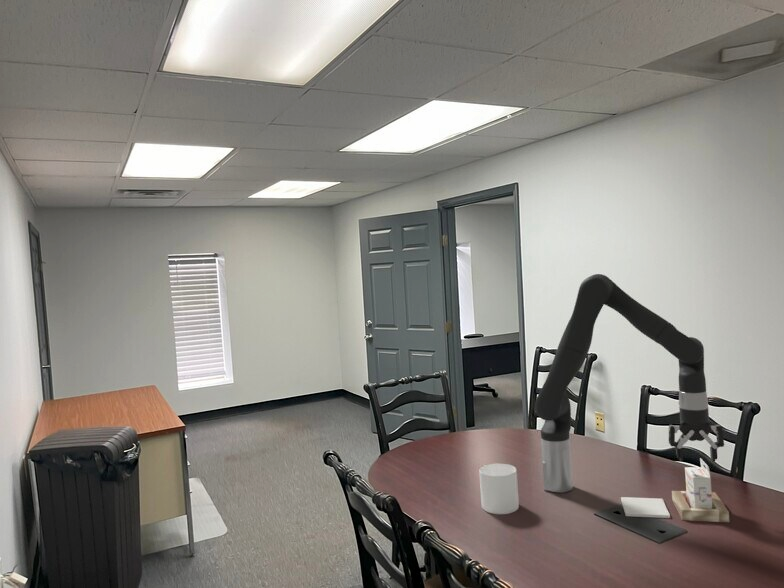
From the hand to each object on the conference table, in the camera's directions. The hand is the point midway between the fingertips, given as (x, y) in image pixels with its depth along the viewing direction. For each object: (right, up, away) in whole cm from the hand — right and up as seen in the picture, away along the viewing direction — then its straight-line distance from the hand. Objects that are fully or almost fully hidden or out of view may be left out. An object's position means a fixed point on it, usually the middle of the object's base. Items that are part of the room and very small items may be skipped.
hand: (696, 460), depth 167 cm
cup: (-55, -19, +14) cm, 60 cm away
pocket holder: (+1, -15, +1) cm, 15 cm away
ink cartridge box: (+1, -15, +1) cm, 15 cm away
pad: (-13, -16, +5) cm, 21 cm away
